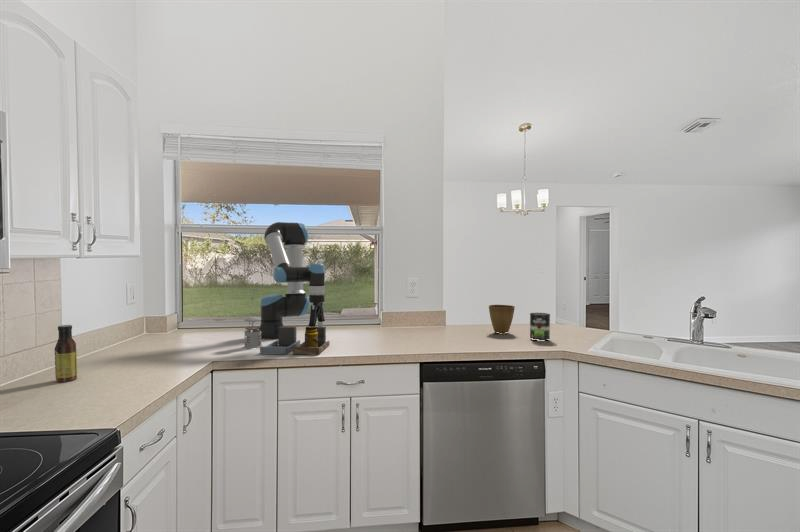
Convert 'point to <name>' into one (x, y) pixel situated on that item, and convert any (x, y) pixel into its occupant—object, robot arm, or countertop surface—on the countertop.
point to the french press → (252, 333)
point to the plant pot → (501, 317)
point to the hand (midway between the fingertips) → (317, 336)
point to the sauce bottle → (65, 355)
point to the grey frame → (282, 342)
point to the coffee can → (540, 326)
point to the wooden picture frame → (313, 350)
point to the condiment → (311, 336)
